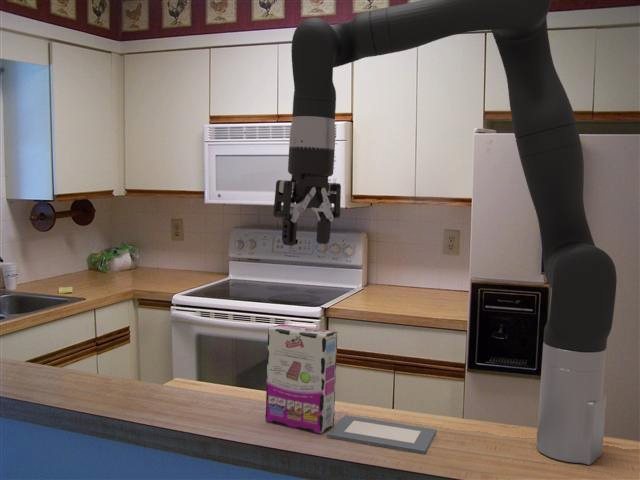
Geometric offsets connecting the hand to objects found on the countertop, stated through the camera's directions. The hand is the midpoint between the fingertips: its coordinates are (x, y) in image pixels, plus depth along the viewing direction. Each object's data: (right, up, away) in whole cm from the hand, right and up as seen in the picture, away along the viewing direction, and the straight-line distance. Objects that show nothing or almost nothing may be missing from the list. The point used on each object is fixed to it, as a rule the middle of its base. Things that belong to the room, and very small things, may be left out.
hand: (306, 244), depth 113 cm
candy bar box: (-1, -31, +3) cm, 31 cm away
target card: (+13, -31, -1) cm, 34 cm away
